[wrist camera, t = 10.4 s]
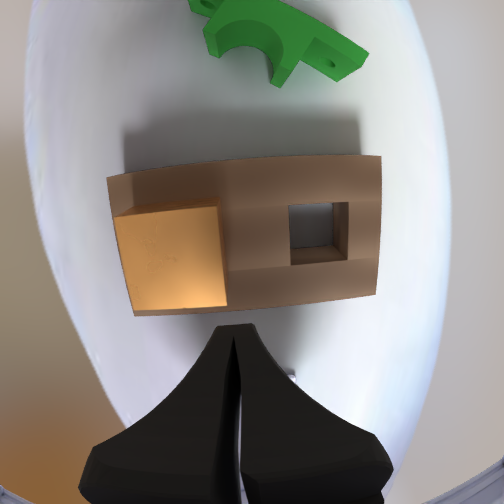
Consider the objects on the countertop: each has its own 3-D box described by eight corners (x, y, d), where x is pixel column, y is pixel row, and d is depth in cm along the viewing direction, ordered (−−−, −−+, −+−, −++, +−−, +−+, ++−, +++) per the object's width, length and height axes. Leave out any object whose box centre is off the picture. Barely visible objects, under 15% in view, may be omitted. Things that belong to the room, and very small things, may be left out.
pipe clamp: (172, 40, 16) (155, 13, 11) (200, 1, 15) (191, -32, 10) (319, 112, 18) (342, 101, 13) (343, 71, 17) (370, 52, 12)
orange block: (229, 264, 20) (227, 305, 15) (158, 269, 20) (133, 310, 15) (222, 190, 19) (216, 206, 13) (147, 198, 18) (114, 217, 13)
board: (359, 277, 21) (375, 294, 19) (145, 295, 21) (134, 316, 18) (361, 154, 18) (381, 155, 16) (124, 173, 18) (106, 177, 15)
